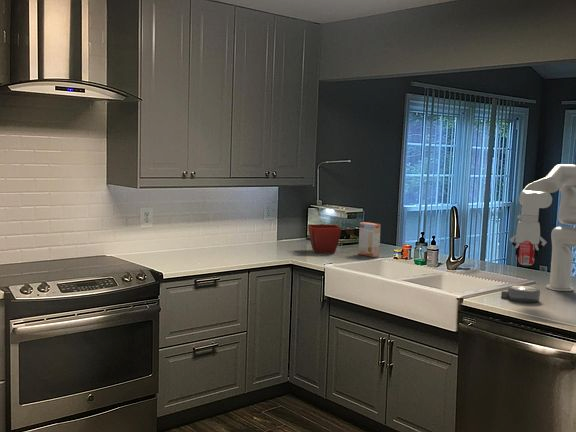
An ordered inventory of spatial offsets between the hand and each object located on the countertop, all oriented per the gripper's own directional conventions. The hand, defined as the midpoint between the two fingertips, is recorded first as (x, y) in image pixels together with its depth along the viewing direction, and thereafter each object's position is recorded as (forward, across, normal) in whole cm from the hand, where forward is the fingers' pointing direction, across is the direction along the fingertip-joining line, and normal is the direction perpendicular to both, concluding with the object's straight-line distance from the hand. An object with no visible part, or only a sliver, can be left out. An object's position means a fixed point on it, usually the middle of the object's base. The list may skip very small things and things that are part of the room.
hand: (526, 257), depth 292 cm
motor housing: (+20, -1, 0) cm, 20 cm away
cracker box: (+20, -104, +72) cm, 128 cm away
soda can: (+3, 0, 0) cm, 3 cm away
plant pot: (+20, -134, +68) cm, 152 cm away
